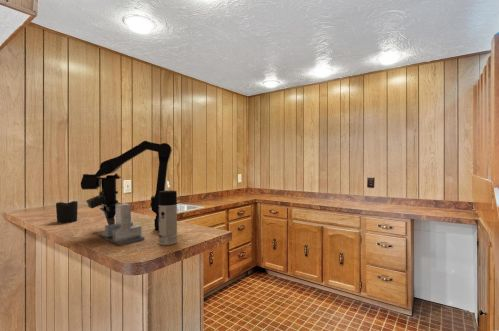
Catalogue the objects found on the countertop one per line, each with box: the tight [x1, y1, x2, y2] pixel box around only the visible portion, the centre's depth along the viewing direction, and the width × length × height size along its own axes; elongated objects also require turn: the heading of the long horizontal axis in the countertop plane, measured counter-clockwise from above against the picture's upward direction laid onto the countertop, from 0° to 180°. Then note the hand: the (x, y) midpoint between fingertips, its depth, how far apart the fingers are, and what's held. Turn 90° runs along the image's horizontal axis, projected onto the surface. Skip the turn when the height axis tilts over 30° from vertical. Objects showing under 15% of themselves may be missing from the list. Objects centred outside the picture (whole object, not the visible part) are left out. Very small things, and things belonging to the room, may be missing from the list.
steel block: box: [115, 202, 132, 229], centre depth 108 cm, size 4×5×13 cm
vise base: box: [97, 224, 145, 247], centre depth 110 cm, size 22×10×5 cm, turn 47°
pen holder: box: [55, 200, 79, 224], centre depth 140 cm, size 9×9×10 cm
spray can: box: [158, 190, 178, 247], centre depth 102 cm, size 7×7×20 cm
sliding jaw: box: [104, 217, 134, 237], centre depth 114 cm, size 11×10×5 cm
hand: (109, 224), depth 119 cm, fingers closed
